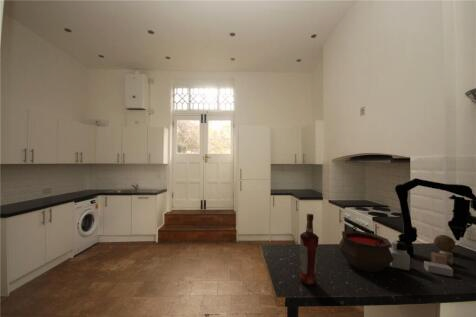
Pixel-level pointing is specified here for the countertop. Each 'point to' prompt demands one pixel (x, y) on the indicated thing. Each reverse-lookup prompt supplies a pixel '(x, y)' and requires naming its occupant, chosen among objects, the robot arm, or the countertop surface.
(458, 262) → the countertop surface
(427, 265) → the long grey brick
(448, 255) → the round birch brick
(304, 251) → the liquor
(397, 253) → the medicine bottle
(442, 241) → the natural sponge
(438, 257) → the terracotta tall brick
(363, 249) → the brown pot
